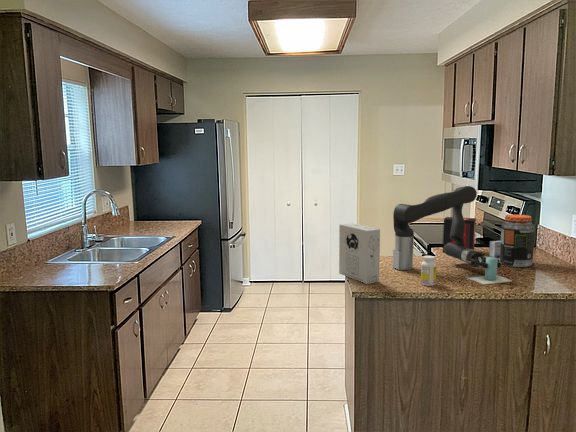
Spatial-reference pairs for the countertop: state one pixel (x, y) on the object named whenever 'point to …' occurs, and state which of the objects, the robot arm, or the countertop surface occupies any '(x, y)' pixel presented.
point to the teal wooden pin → (491, 268)
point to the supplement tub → (517, 241)
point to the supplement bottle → (428, 271)
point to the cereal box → (359, 252)
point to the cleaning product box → (468, 234)
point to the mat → (483, 281)
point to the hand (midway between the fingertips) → (493, 265)
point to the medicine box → (494, 248)
